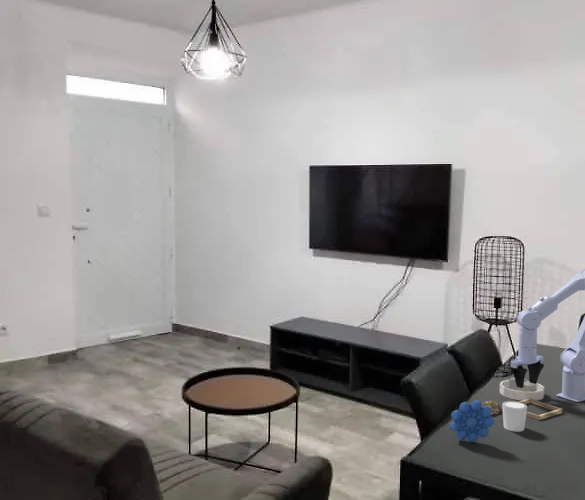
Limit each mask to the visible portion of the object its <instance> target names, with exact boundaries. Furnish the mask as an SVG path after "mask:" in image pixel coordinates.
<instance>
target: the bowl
mask: <svg viewBox="0 0 585 500" xmlns="http://www.w3.org/2000/svg"><path fill="white" fill-rule="evenodd" d="M527 382H529V380H527ZM509 385H510V379H506V380H505V379H504V380H502V381H501V382H500V383H499V393H500V395H502V396H503V397H504V398H508V399H511V400H514V401H516V400H517V401H522V400H526V399H533V400H536V401H540V400H541V401H542V400H543V399H544V398H545V386H543V385H542V384H540V383H538V382H537V383H536V391H535V392H524V391H517V390H512V389H509Z"/></svg>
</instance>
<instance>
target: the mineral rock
mask: <svg viewBox="0 0 585 500" xmlns="http://www.w3.org/2000/svg"><path fill="white" fill-rule="evenodd" d="M481 403H482V407H484V406H488V407H490V408H491V410H492V412H491V414H490V417H492V416H494V415H499V414H501V406H500V405H499V403H498V402H497V401H495V400H486V401H483V402H481Z"/></svg>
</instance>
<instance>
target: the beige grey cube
mask: <svg viewBox="0 0 585 500" xmlns="http://www.w3.org/2000/svg"><path fill="white" fill-rule="evenodd" d="M527 381H528V380H527ZM527 381H526V382H524V386H523V388H520V387H519V389H518V391H524V392H535V391H536V384H533V383H530V382H527Z"/></svg>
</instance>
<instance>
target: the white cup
mask: <svg viewBox="0 0 585 500" xmlns="http://www.w3.org/2000/svg"><path fill="white" fill-rule="evenodd" d="M501 407H502V419H503V428H504V430H507V431H510V432H517V433H519V432H523V431H525V428H526V427H525V426H526V419H527V418H526V417H527V416H526V413H527V412H528V411H527V410H528V405H527V404H523V403H520V402H518V401H516V400H514V401H513V400H511V401H510V400H508V401H504V402H502V405H501Z"/></svg>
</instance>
